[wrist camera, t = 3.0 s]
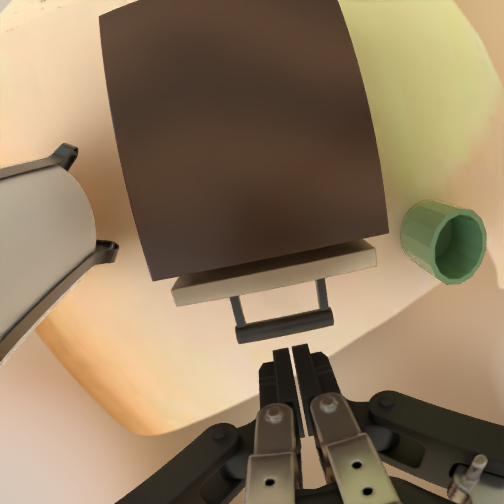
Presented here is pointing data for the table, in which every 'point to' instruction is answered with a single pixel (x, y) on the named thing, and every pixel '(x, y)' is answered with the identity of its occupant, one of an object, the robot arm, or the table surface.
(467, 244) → the pot
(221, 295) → the drawer
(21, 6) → the table surface
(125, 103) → the cabinet
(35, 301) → the coffee press
